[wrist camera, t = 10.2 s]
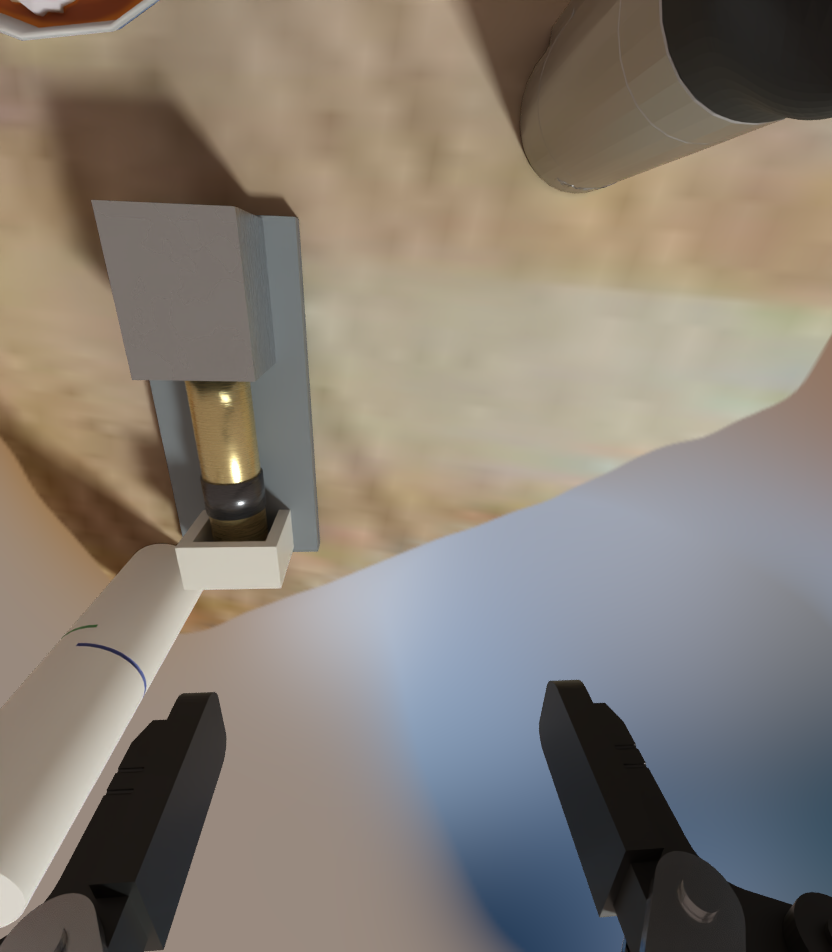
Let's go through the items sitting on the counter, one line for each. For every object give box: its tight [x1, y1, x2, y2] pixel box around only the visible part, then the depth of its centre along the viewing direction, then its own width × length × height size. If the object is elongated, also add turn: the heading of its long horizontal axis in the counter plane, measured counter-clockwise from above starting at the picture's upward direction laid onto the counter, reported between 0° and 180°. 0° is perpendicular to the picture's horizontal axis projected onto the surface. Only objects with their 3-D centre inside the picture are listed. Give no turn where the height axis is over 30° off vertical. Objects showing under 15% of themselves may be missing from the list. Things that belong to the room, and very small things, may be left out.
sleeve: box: [91, 200, 276, 382], centre depth 30 cm, size 10×8×7 cm
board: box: [150, 215, 320, 552], centre depth 37 cm, size 28×12×2 cm, turn 178°
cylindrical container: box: [0, 544, 203, 928], centre depth 33 cm, size 7×7×25 cm
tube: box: [185, 381, 268, 542], centre depth 35 cm, size 18×5×5 cm, turn 178°
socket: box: [175, 510, 294, 590], centre depth 38 cm, size 4×8×6 cm, turn 88°
